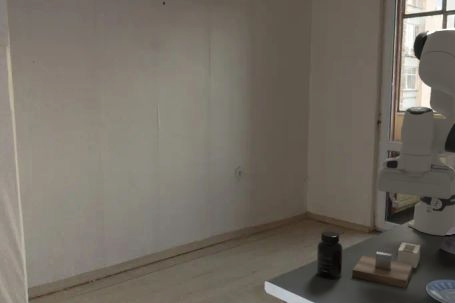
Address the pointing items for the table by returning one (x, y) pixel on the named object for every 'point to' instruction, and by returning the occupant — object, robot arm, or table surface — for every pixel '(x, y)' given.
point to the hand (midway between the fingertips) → (412, 209)
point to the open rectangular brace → (409, 254)
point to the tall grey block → (383, 260)
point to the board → (383, 272)
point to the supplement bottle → (329, 256)
